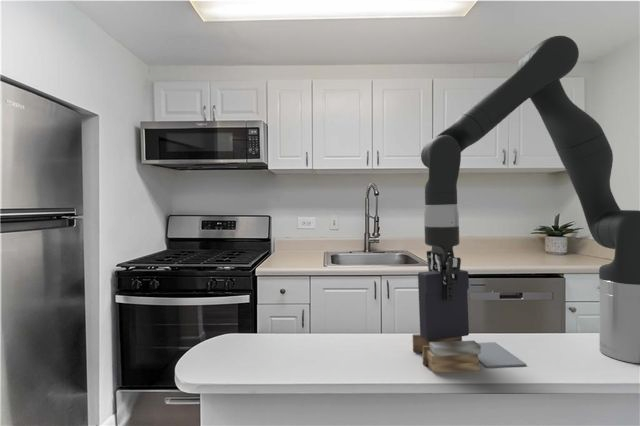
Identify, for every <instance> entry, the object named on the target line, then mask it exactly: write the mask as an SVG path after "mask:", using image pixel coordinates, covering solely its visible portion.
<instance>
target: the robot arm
mask: <svg viewBox="0 0 640 426" xmlns="http://www.w3.org/2000/svg"><path fill="white" fill-rule="evenodd" d="M579 54H580V52H579V47H578V45H577V43H576V42H575V41H574V40H573V38H570V37H569V36H566V35H553V36H551V37H548V38H546V39H544V40H542V41H541V42H539V43H538V44H537V45H534V47H533V48H531V49H530V50H529V51H528V52H526V53H525V54H523V55H522V57H521V58H520V59H519V61H518V63H517V67H516V71H515V72H514V74H512V75H511V76H510V77H508V78H507V79H506V80H505V81H503V82H502V83H501V84H499V85H498V86H497V87H495V88H494V89H493V90H492V91H490V92H488V93H487V94H486V95H484V96H483V97H482V98H481V99H479V100H477V101H476V102H475V103H474V104H473V105H471V107H469V108H468V109H467V110H465V111H464V112H463V113H461V115H460V116H459V117H457V118H456V119H455V120H454V121H453V122H452V123H451V125H449V126H448V127H447V128H445V129H444V130H442V131H441V132H439V133H438V134H437V135H436V136H435V137H433V138H432V139H430V140H429V141H428V142H427V143H426V144H425V145H424V146H423V147H422V150H421V153H420V159H421V162H422V164H423V166H425V167H426V168H427V169H428V179H427V182H426V183H425V186H424V214H423V218H424V220H423V222H424V223H423V224H424V225H423V226H424V243H425V245H426V246H429V247H431V250H427V251H426V261H427V268H428V271H438V272H439V273H440V274H441V275H442V284H443V285H442V288H443V300H444V301H445V302H452V301H453V300H454V291H453V285H455V284H457V283H459V275H460V270H461V264H462V263H461V261H462V260H461V258H460V257H455V253H454V247H457V246H459V245H460V220H459V219H460V216H459V215H460V213H459V208H458V189H457V188H458V187H457V183H458V180H459V174H460V168H461V162H462V161H461V159H462V152H464V150H465V149H467V148H469V147H470V146H472V145H474V144H476V143H477V142H478V141H480V140H481V139H482V138H484V137H485V136H486V135H487V134H488V133H489V132H491V131H492V130H494V129H495V128H496V127H497V126H498V125H499V124H500V123H501V122H502V121H503V120H504V119H506V118H507V117H508V116H509V115H510V114H512V113H513V112H514V111H515V110H516V109H517V108H518V107H520V106H521V105H522V104H523V103H525V102H526V101H528V99H529V100H530V101H531V102H532V104H533V106H534V107H535V109H536V110H537V112H538V114H539V116H540V117H541V121H542V122H543V124H544V126H545V128H546V130H547V133H548V134H549V136H550V139H551V141H552V144H553V145H554V147H555V151H556V153H557V154H558V157H559V159H560V161H561V163H562V165H563V167H564V168H565V171H566V172H567V175H568V176H569V180H570V181H571V184H572V186H573V189H574V191H575V193H576V195H577V198H578V200H579V202H580V204H581V205H580V206H581V208H582V212H583V214H584V217H585V220H586V224H587V227H588V230H589V232H590V235H591V237H592V239H593V240H594V241H595V242H596V243H597V244H598V245H600V246H602V247H604V248H607V249H609V250H610V249H611V250H614V258H613V260H612V261H611V262H610V263H606V264H602V265H601V266H600V267H599V269H598V270H599V271H598V272H599V273H598V275H599V276H598V288H599V289H598V290H599V291H598V292H599V293H598V297H599V299H598V301H599V304H598V305H599V307H598V308H599V311H598V312H599V313H598V314H599V321H598V322H599V323H598V324H599V326H598V327H599V330H598V331H599V336H598V337H599V351H600V353H602V354H604V355H606V356H608V357H610V358H611V359H615V360H618V361H622V362H627V363H633V364H640V210H638V209H637V210H635V209H633V210H632V209H625V210H624V209H621V208H620V206H619V205H618V203H617V202H616V198H615V197H614V195H613V192H612V189H611V175H612V169H613V163H614V154H613V150H612V149H613V148H612V147H611V144H610V142H609V141H608V138H607V136H606V133H605V131H604V130H603V128H602V126H601V125H600V124H599V122H597V120H596V119H595V118H593V117H592V116H591V115H590V114H589V113H587V112H586V111H584V110H583V109H581V108H580V107H579V106H578V105H576V104H575V103H574V102H573V101H572V100H571V99H570V97H569V96H568V95H567V93H566V91H565V88H564V86H563V85H562V82H561V79H562V78H564V77H566V76H567V75H568V74H570V72H572V70H573V69H574V67H575V66H576V65H577V63H578V60H579V58H580V57H579V56H580V55H579ZM445 274H446V276H445ZM454 274H455V277H454Z"/></svg>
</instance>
